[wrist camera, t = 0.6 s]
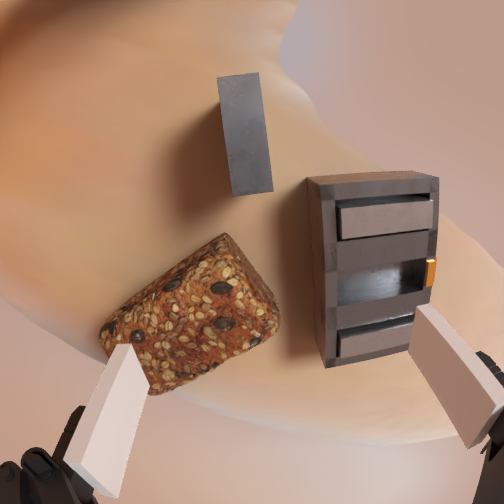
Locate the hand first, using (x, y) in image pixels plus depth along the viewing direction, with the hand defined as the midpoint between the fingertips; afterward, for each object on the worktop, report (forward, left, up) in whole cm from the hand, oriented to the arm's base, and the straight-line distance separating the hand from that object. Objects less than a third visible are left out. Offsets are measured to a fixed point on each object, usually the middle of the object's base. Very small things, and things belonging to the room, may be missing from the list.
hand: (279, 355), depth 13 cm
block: (-10, 0, -22) cm, 24 cm away
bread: (+8, -9, -22) cm, 25 cm away
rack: (+6, +12, -22) cm, 26 cm away
